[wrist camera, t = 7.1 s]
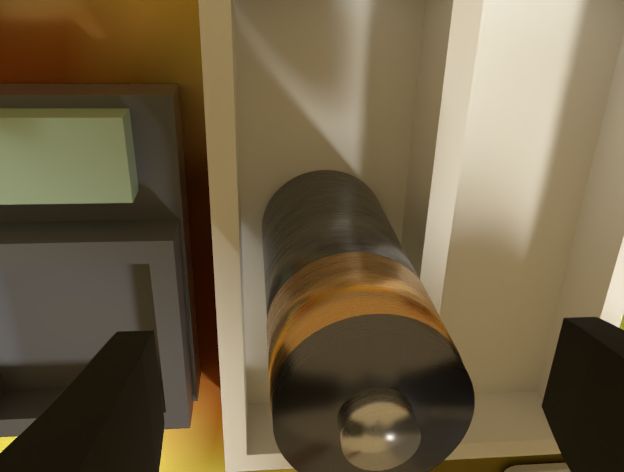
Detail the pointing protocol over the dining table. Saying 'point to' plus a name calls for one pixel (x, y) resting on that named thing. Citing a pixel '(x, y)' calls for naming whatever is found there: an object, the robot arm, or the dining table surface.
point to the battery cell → (354, 337)
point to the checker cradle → (92, 240)
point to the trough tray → (425, 178)
